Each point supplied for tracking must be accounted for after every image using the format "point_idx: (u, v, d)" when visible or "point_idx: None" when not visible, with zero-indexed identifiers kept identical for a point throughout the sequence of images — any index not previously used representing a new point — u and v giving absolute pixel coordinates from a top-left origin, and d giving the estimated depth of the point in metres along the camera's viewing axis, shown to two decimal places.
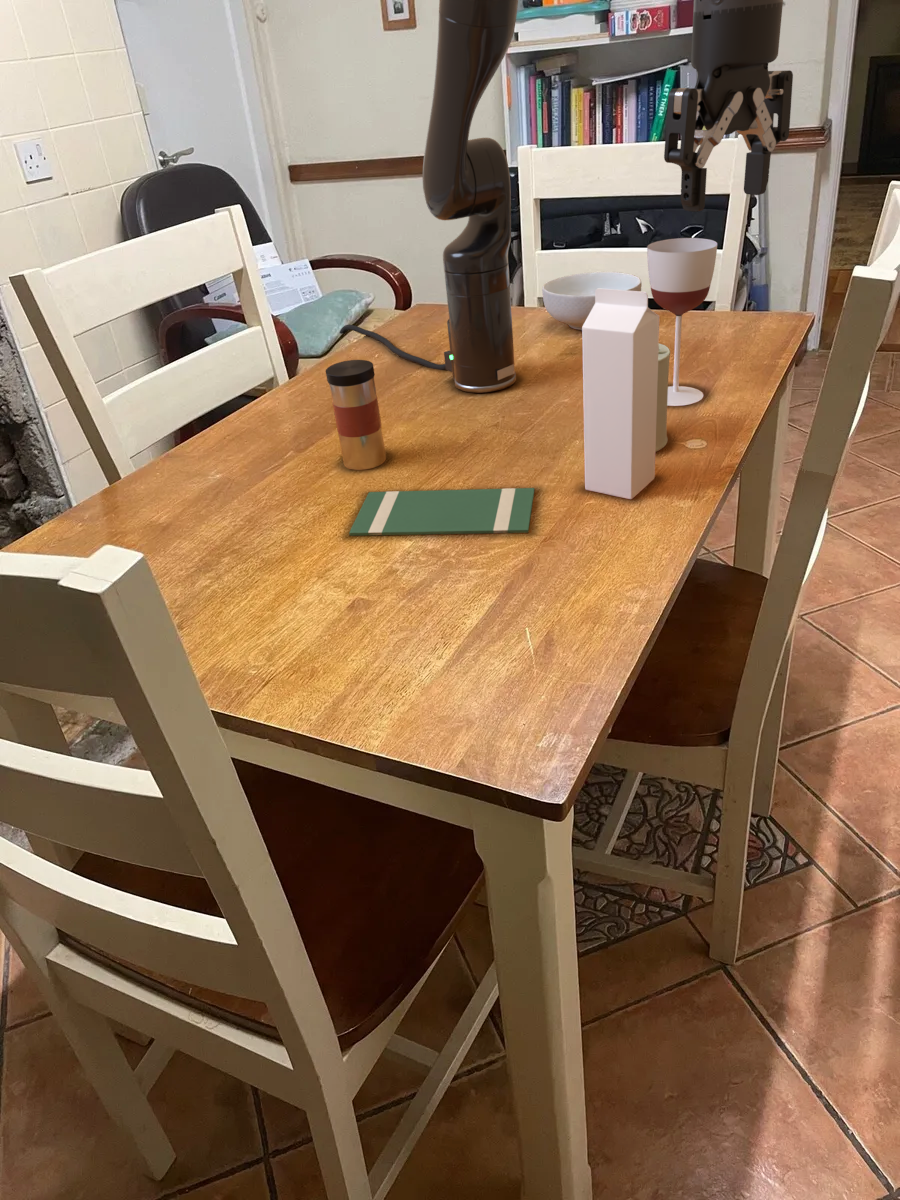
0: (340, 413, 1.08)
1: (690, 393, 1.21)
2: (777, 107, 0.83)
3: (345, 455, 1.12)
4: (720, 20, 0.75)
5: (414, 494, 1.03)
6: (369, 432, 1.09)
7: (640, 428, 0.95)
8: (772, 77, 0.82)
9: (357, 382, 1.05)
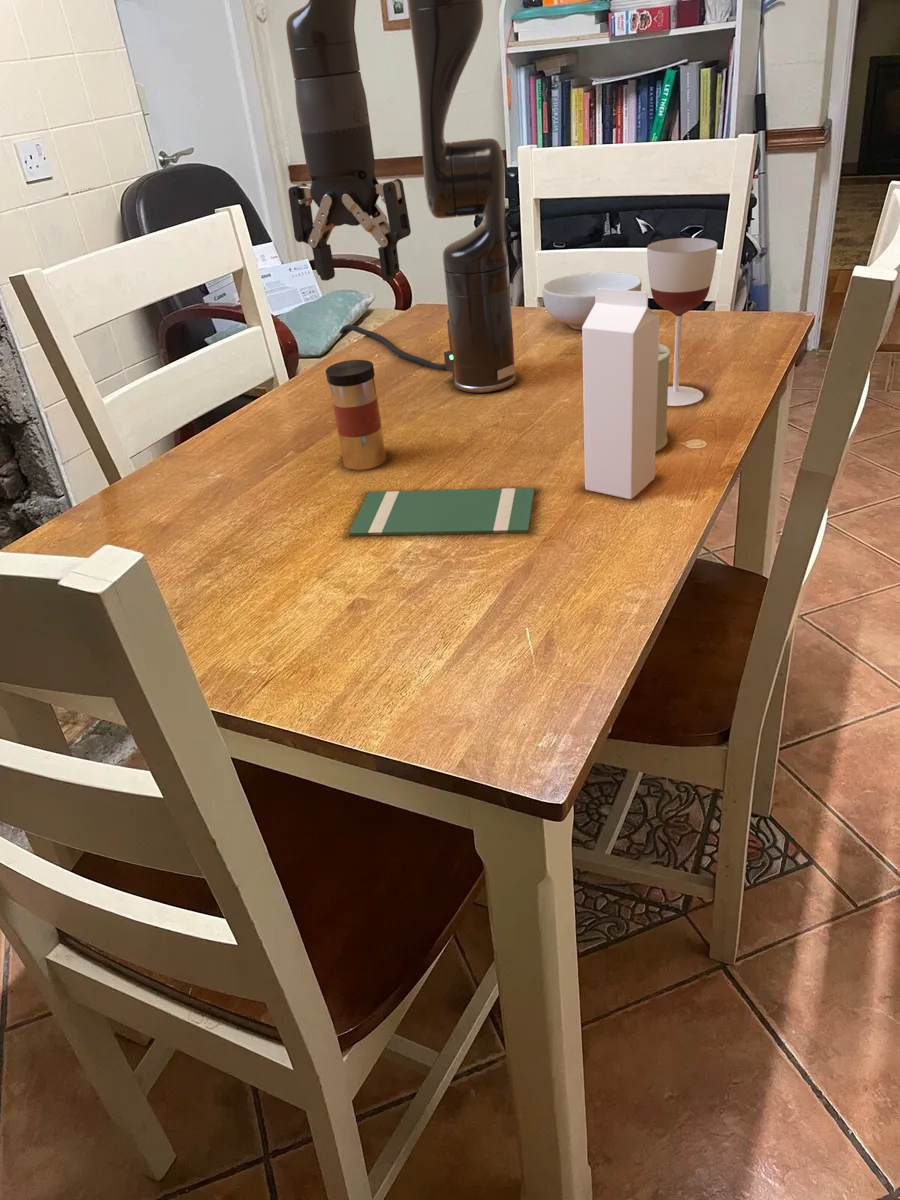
0: (340, 413, 1.08)
1: (690, 393, 1.21)
2: None
3: (345, 455, 1.12)
4: None
5: (414, 494, 1.03)
6: (369, 432, 1.09)
7: (640, 428, 0.95)
8: (380, 185, 0.95)
9: (357, 382, 1.05)
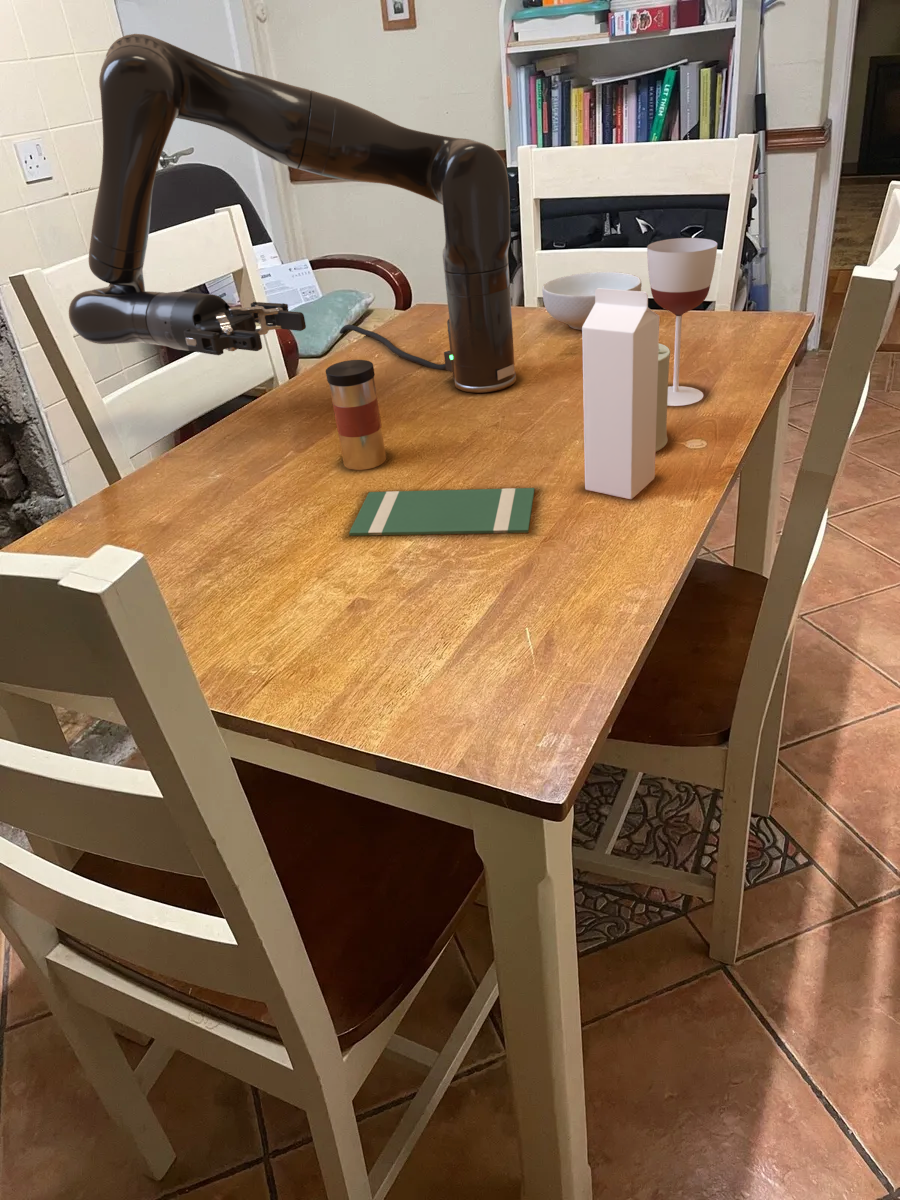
0: (340, 413, 1.08)
1: (690, 393, 1.21)
2: None
3: (345, 455, 1.12)
4: None
5: (414, 494, 1.03)
6: (369, 432, 1.09)
7: (640, 428, 0.95)
8: None
9: (357, 382, 1.05)
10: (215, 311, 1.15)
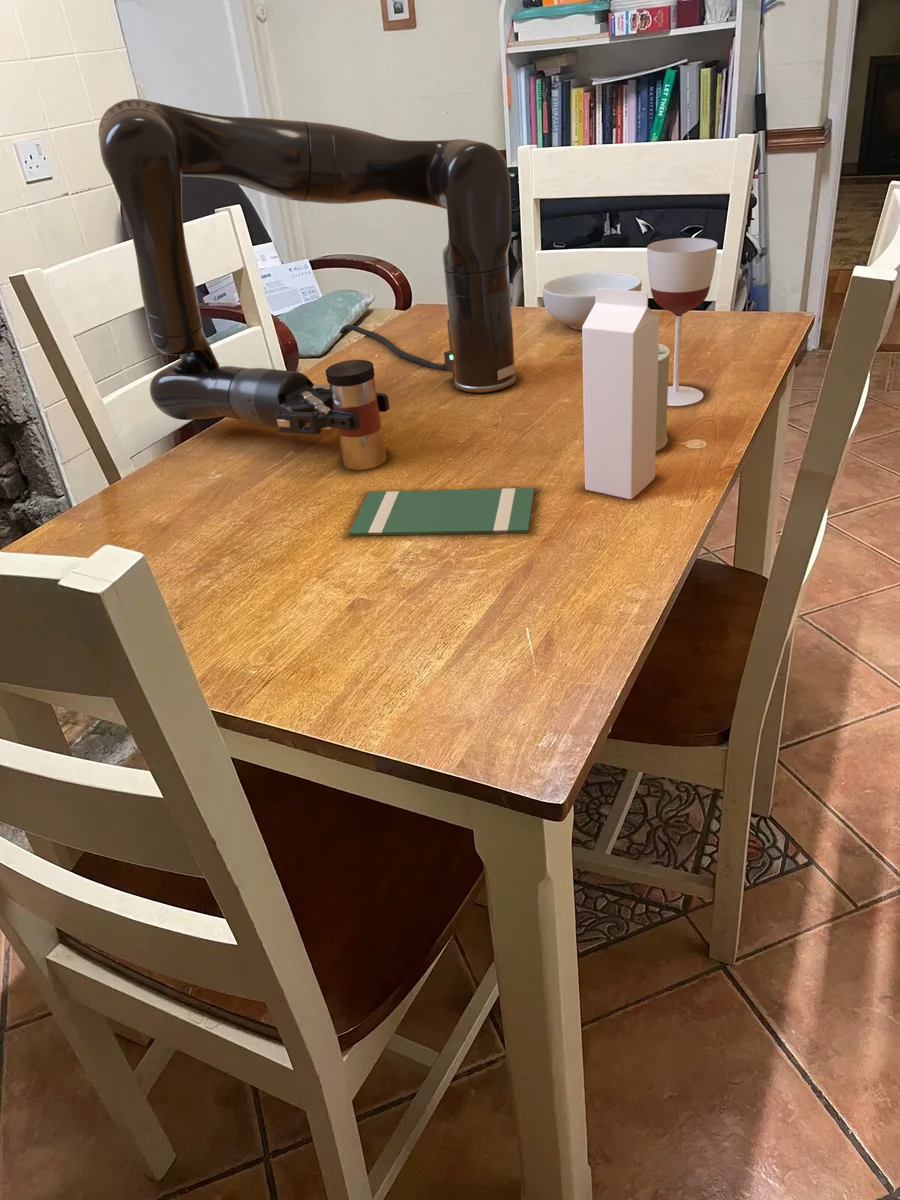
0: None
1: (690, 393, 1.21)
2: None
3: (345, 455, 1.12)
4: None
5: (414, 494, 1.03)
6: (369, 432, 1.09)
7: (640, 428, 0.95)
8: None
9: (357, 382, 1.05)
10: (299, 388, 1.14)
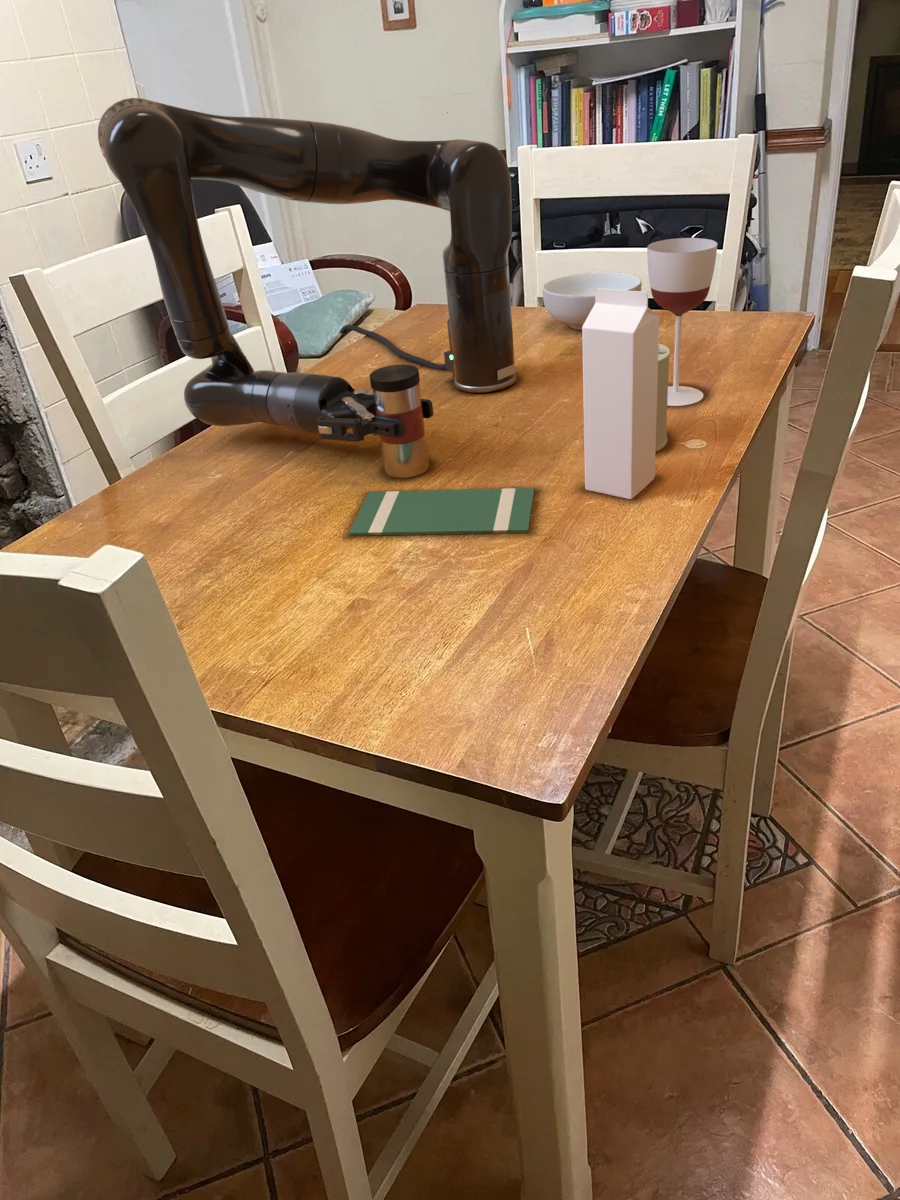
0: None
1: (690, 393, 1.21)
2: None
3: (387, 462, 1.08)
4: None
5: (414, 494, 1.03)
6: (413, 439, 1.06)
7: (640, 428, 0.95)
8: None
9: (403, 388, 1.02)
10: (339, 394, 1.11)
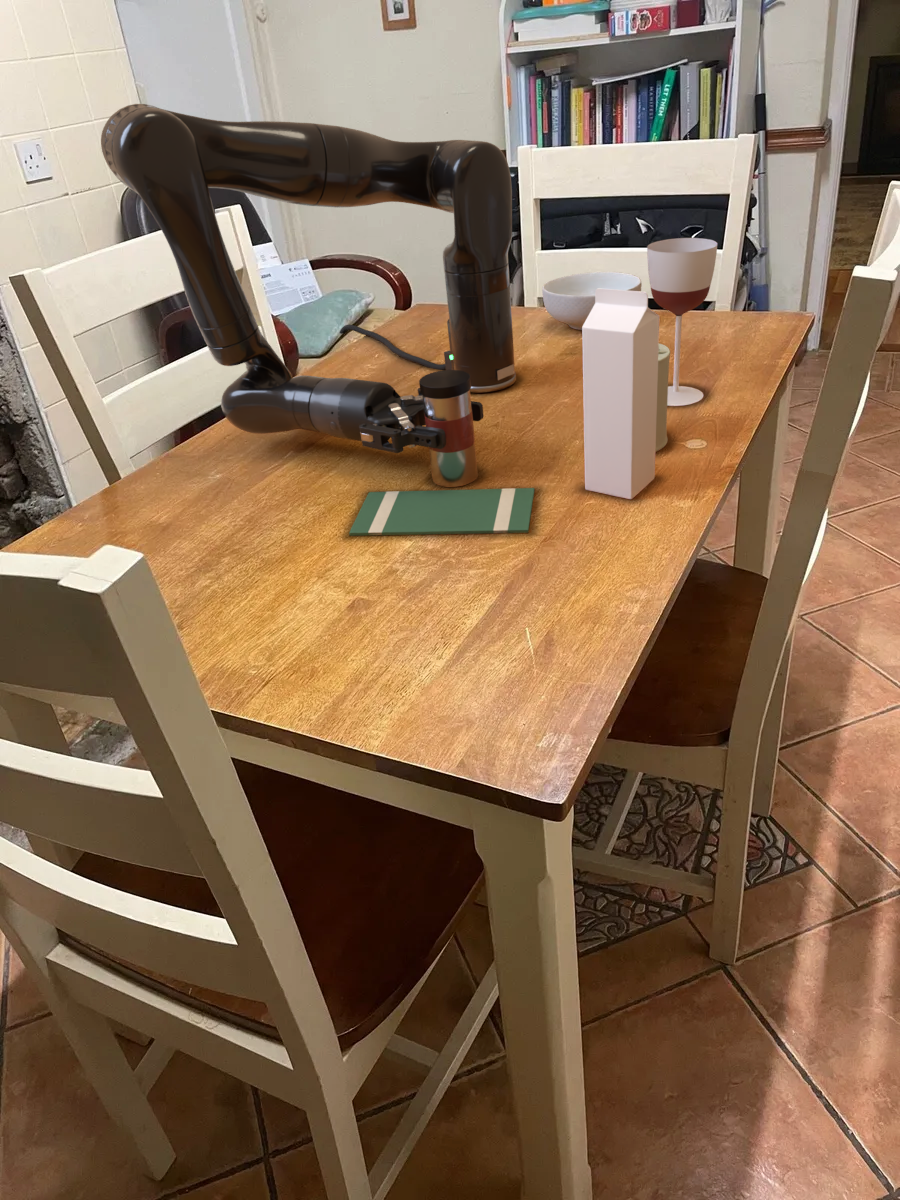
0: (434, 427, 1.01)
1: (690, 393, 1.21)
2: None
3: (436, 471, 1.05)
4: None
5: (414, 494, 1.03)
6: (463, 447, 1.03)
7: (640, 428, 0.95)
8: None
9: (454, 394, 0.99)
10: (385, 400, 1.07)
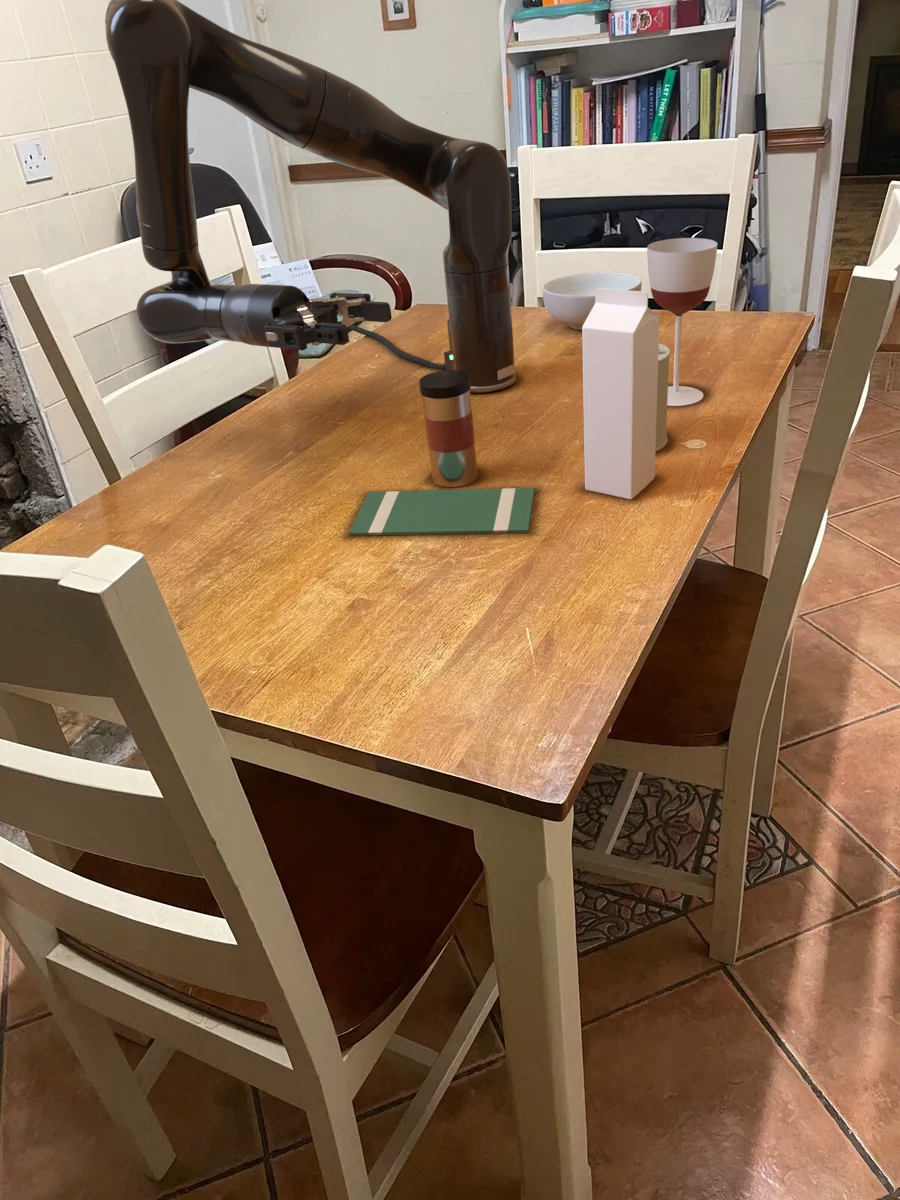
0: (434, 427, 1.01)
1: (690, 393, 1.21)
2: None
3: (436, 471, 1.05)
4: None
5: (414, 494, 1.03)
6: (463, 447, 1.03)
7: (640, 428, 0.95)
8: None
9: (454, 394, 0.99)
10: (294, 303, 1.07)
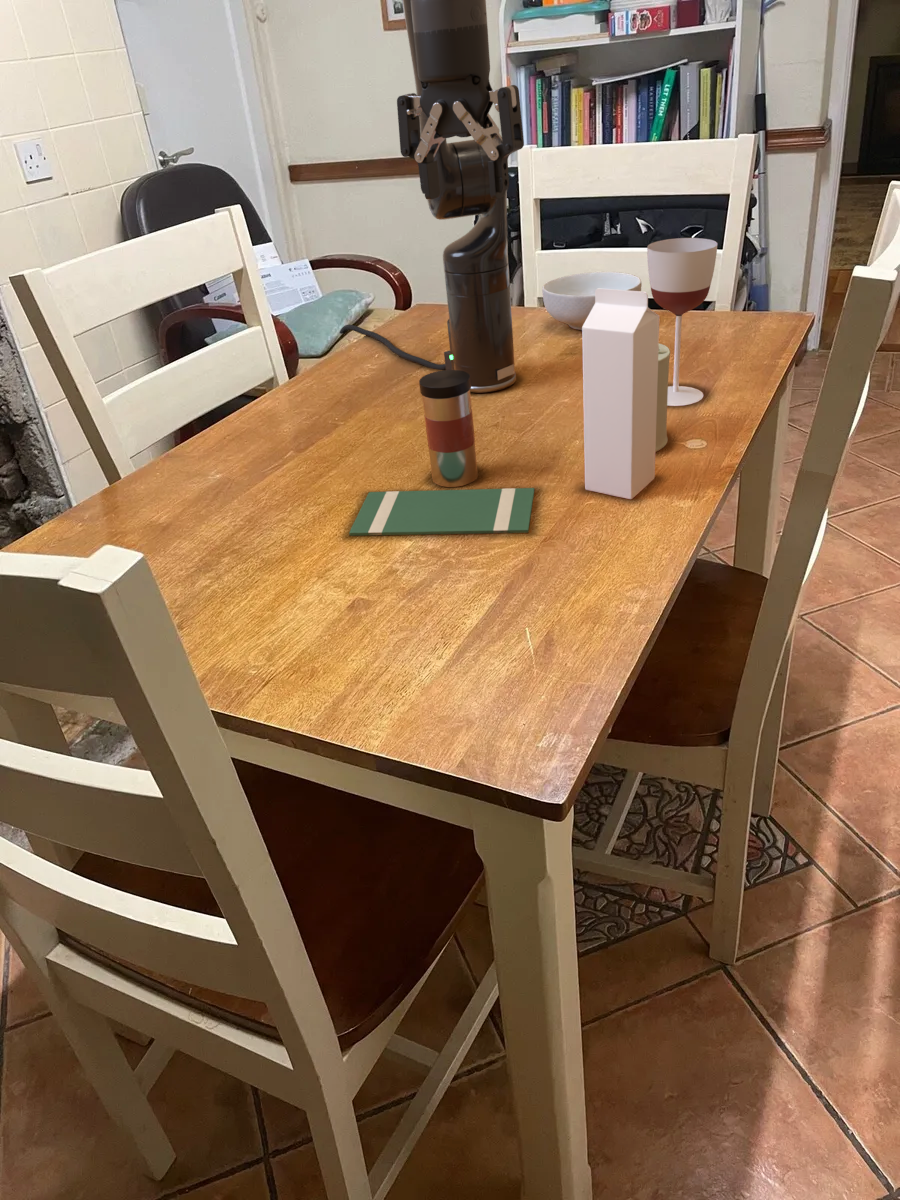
0: (434, 427, 1.01)
1: (690, 393, 1.21)
2: None
3: (436, 471, 1.05)
4: None
5: (414, 494, 1.03)
6: (463, 447, 1.03)
7: (640, 428, 0.95)
8: (494, 92, 0.89)
9: (454, 394, 0.99)
10: None
